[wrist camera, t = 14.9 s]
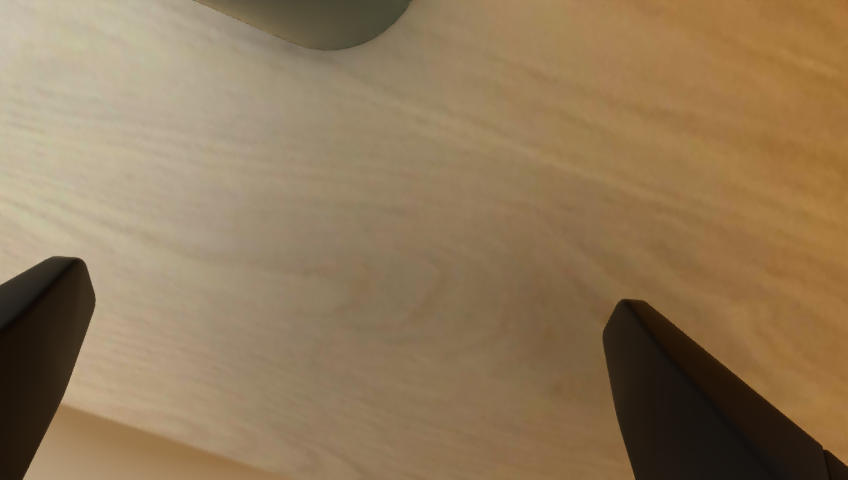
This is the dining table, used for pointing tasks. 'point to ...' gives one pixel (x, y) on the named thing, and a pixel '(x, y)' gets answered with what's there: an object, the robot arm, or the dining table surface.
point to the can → (315, 19)
